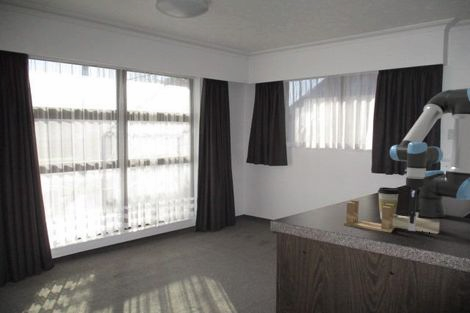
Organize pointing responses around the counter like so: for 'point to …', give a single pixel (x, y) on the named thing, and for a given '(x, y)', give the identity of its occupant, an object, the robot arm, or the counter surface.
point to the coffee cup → (388, 198)
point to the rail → (417, 224)
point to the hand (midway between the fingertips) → (412, 228)
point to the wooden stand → (384, 226)
